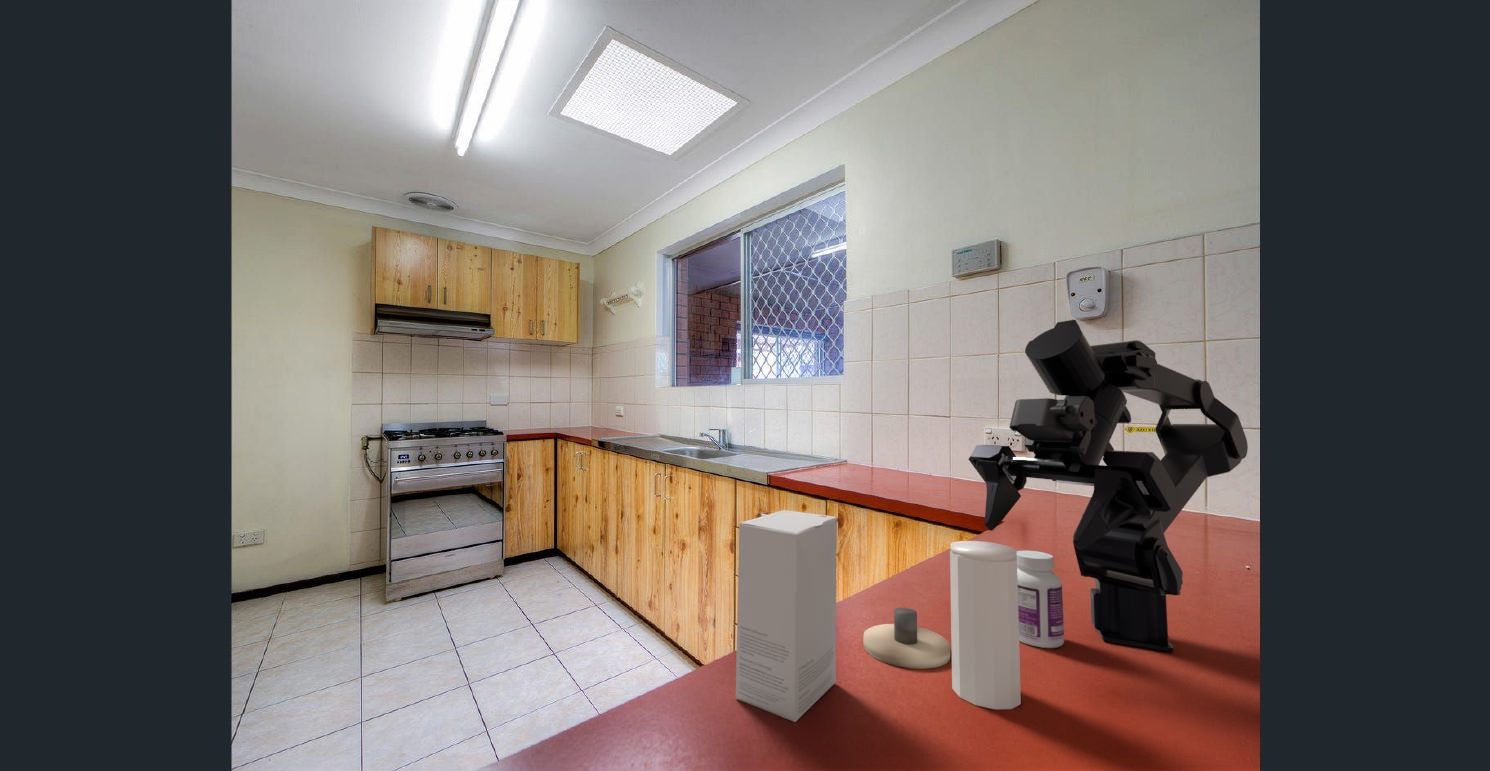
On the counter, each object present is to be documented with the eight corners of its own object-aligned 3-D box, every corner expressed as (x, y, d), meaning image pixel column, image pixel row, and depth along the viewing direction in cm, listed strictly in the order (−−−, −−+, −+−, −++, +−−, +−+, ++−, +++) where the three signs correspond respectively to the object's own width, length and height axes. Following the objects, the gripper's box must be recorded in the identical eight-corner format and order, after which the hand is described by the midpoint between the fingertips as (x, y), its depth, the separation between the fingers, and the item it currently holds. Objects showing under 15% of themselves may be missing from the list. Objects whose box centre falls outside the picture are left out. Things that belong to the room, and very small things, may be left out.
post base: (953, 642, 58) (952, 605, 58) (946, 676, 50) (945, 633, 50) (873, 627, 62) (873, 593, 62) (854, 656, 54) (854, 617, 54)
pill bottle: (1050, 631, 61) (1047, 549, 62) (1074, 651, 56) (1070, 560, 57) (1002, 629, 62) (1000, 547, 63) (1022, 648, 57) (1019, 558, 57)
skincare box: (781, 665, 52) (782, 508, 53) (841, 685, 48) (842, 515, 49) (731, 700, 45) (734, 520, 46) (797, 727, 41) (799, 529, 42)
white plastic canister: (1019, 685, 48) (1015, 544, 49) (1021, 715, 43) (1017, 557, 44) (955, 672, 51) (952, 538, 52) (950, 699, 46) (948, 550, 47)
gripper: (975, 379, 63) (915, 474, 57) (1153, 364, 47) (1095, 495, 41) (1017, 441, 67) (964, 537, 61) (1196, 447, 51) (1149, 579, 44)
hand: (1029, 536), depth 52 cm, fingers open, 9 cm apart
